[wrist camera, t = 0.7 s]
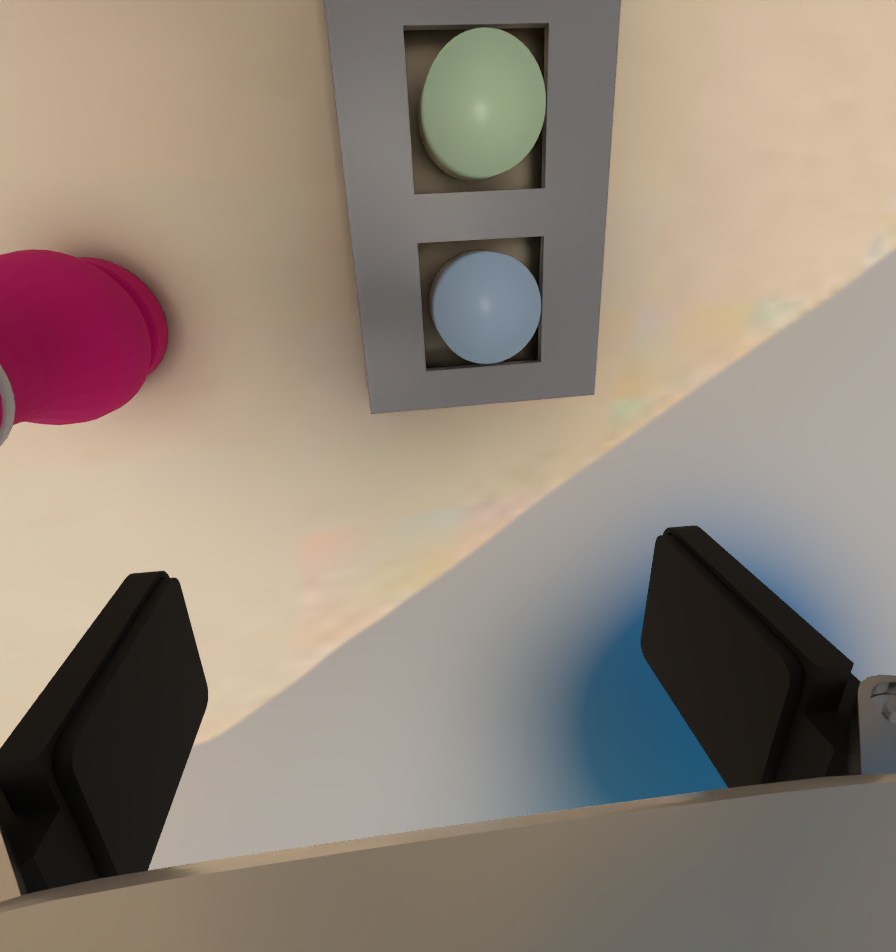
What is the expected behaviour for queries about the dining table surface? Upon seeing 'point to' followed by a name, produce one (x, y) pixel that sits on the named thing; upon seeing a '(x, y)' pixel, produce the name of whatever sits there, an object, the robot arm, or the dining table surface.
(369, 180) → the button panel
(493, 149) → the sage button
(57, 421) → the pepper mill
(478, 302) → the blue button
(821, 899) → the robot arm
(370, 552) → the dining table surface
